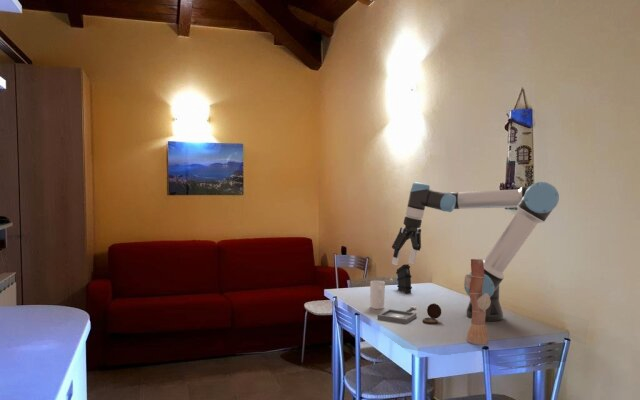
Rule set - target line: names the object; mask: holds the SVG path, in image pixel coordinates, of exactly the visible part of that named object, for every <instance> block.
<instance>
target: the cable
mask: <svg viewBox="0 0 640 400" xmlns="http://www.w3.org/2000/svg"><path fill="white" fill-rule="evenodd" d="M409 307H410V308H409V309H407V310H405V311H406V312H411V311H412V310H413V311H416V310H417V306H416V305H410V306H409Z"/></svg>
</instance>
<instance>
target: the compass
mask: <svg viewBox="0 0 640 400" xmlns="http://www.w3.org/2000/svg"><path fill="white" fill-rule="evenodd" d="M426 312H427V315H428V317H424V318H423V319H422V323H424V324H425V325H426V324H428V325H437V324H442V321H439V320H437V319H438V318H439V317H441V315H442V308H441V306H440V305H438V304H437V303H430V304H429V305H428V306H427V308H426Z"/></svg>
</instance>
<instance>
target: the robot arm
mask: <svg viewBox="0 0 640 400" xmlns="http://www.w3.org/2000/svg"><path fill="white" fill-rule="evenodd" d="M410 188H411V189H410V191H409V198H408V201H407V207H406V212H405V216H404V220H403V225H404V227H402V226H401V227H400V229H399V231H398V234H397V235H396V238H395V240H394V241H393V244H392V245H391V248H392V249H393V256H392V260H391V265H394V266H398V265H399V261H400V257H401V252H402V251H401V249H402V248H403V246H404V245H405V243H406V242H407V241H408V240H410V243H411V245H412V246H411V247H412V248H411V249H410V252H409V253H410V254H409V257H408V262H407V263H408V264H411V265H415V263H416V258H417V253H418V251H420V250H421V249H422V236H421V235H422V228H421V225H422V219H423V218H424V213H425V209H426V208H431V209H434V210H438V211H442V212H448V213H452V212H453V211H454V210H464V209H465V210H467V209H469V210H472V209H502V208H503V209H505V208H509V209H510V208H517V212H516V213H515V214H514V216H513V218H512V219H511V221H510V222H509V223H508V225H507V227H505V230H503V232H502V233H501V235H500V236H499V238H498V239H497V241H496V242H495V244H494V245H493V247H492V248H491V249H490V251H489V252H488V254H487V255H486V256H485V258H484V259H482V260H483V261H484V263H483V264H484V280H483V287H482V295H483V294H485V293H487V294H488V295H489V297H490V300H491V304H490V307H489V308H488V309H486V317H485V322H496V321H502V320H503V319H504V312H503V309H502V306H501V303H500V284H501V283H502V281H503V280H504V278H505V276H504V272H505V271H506V269H507V267H508V266H509V264H510V263H511V262H512V260H513V259H514V257H515V256H516V255H517V253H518V252H519V250H520V249H521V247H523V245H524V244H525V242H526V241H527V239H528V238H529V236H530V235H531V234H532V232H533V231H534V229H536V227H537V225H538V224H540V223H545V221H546V220H547V218H548V217H549V216H550V215H551V213H552V212H553V210H554V209H555V208H556V207H557V205H558V204H559V200H560V194H559V191H558V189H557V188H556V187H555V185H552V184H551V183H549V182H545V181H539V182H534V183H532V184H530V185H529V186H521V187H520V188H519V189H500V190H499V189H496V190H477V191H474V190H473V191H458V192H457V191H455V192H452V191H451V192H441V191H436V190H433V189H430V185H429V184H428V183H427V184H426V183H423V182H417V181H415V182H413V183H412V185H411V187H410ZM425 207H426V208H425ZM468 275H470V276H471V272H470V273H468ZM463 282H464V281H463ZM463 287H464V291H465V292H466V294H467V295H468V296H469V289H468V288H466V286H465V282H464V283H463ZM465 316H466V317H468V318H470V319H472V304H471V300H470V299H469V302H468V305H467V308H466V315H465Z"/></svg>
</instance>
